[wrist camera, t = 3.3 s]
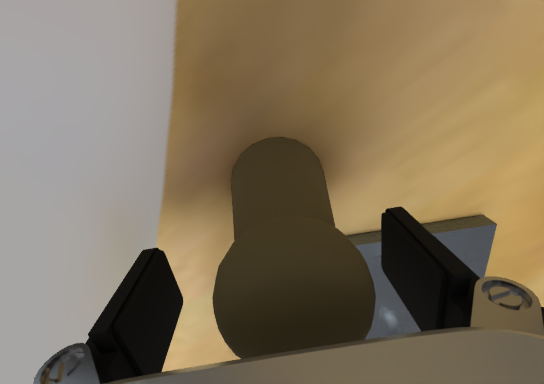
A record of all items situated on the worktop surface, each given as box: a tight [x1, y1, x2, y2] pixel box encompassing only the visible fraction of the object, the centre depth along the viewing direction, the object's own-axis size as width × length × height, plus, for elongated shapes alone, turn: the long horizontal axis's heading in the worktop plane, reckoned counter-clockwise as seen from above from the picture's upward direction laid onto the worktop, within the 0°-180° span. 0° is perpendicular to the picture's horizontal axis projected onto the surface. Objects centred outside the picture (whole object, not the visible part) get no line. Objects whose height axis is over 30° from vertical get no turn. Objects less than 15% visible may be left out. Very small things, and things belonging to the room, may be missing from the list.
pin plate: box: [346, 215, 497, 340], centre depth 21 cm, size 18×18×5 cm
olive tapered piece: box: [213, 137, 376, 359], centre depth 12 cm, size 6×6×11 cm
